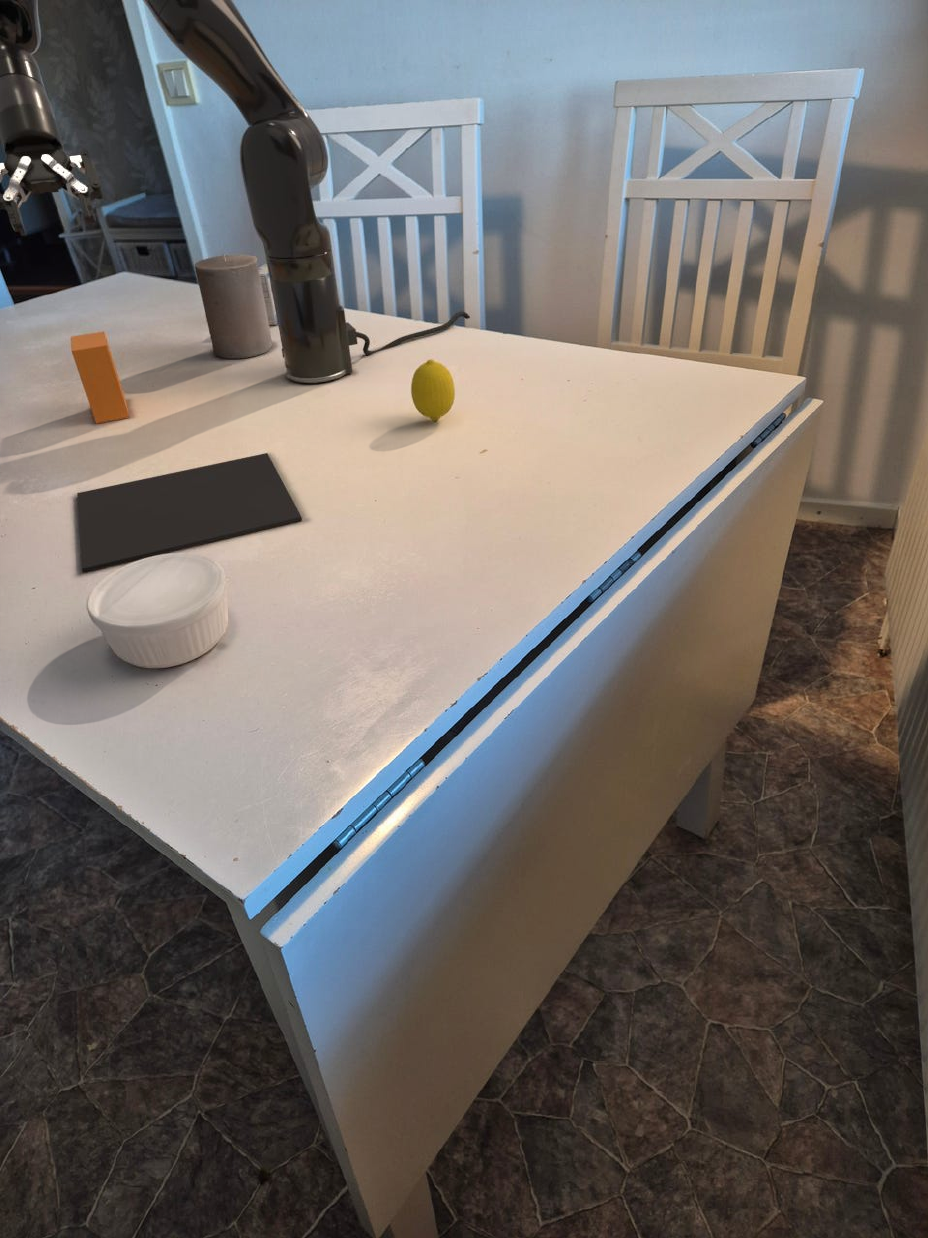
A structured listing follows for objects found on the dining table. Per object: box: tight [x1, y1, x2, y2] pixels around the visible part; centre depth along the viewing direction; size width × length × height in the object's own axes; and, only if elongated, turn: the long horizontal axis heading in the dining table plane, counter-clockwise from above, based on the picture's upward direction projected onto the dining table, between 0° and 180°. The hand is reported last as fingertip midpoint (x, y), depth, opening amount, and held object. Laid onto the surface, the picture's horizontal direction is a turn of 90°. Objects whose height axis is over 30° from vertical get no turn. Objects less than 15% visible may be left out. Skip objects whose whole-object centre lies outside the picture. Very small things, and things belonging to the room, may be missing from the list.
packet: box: [70, 331, 130, 425], centre depth 111 cm, size 4×7×10 cm, turn 23°
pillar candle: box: [194, 251, 273, 360], centre depth 129 cm, size 10×10×15 cm
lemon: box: [410, 359, 456, 422], centre depth 103 cm, size 6×6×8 cm
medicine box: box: [258, 263, 278, 326], centre depth 145 cm, size 8×4×9 cm, turn 168°
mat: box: [76, 452, 303, 573], centre depth 89 cm, size 22×18×1 cm
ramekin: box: [86, 552, 229, 669], centre depth 68 cm, size 11×11×5 cm
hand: (56, 227), depth 110 cm, fingers open, 8 cm apart
